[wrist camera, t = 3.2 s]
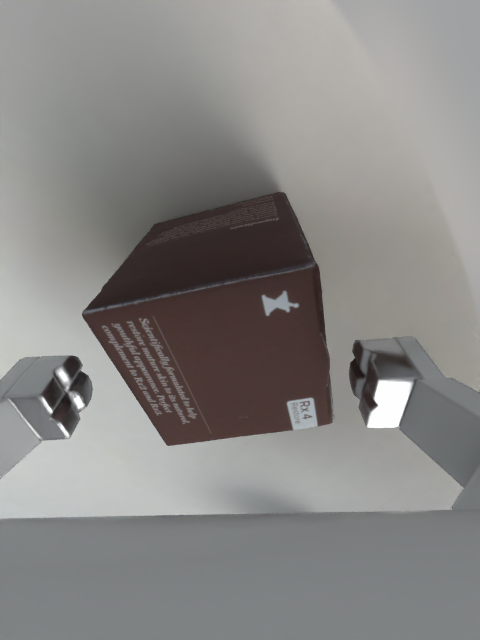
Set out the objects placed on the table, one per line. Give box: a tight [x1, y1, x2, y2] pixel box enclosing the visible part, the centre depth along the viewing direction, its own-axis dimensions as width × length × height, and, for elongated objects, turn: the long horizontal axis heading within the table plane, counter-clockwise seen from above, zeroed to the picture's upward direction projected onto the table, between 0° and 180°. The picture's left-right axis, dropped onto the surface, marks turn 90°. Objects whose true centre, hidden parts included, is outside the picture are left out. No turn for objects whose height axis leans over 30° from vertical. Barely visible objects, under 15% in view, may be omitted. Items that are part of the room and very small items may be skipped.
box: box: [82, 192, 334, 446], centre depth 11 cm, size 6×6×7 cm
